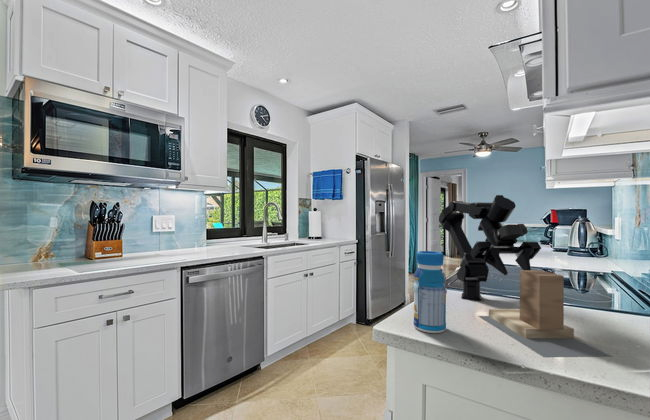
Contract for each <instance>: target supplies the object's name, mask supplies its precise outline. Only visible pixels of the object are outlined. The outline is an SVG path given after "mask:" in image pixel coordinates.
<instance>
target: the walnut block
mask: <svg viewBox="0 0 650 420" xmlns="http://www.w3.org/2000/svg"><path fill="white" fill-rule="evenodd" d="M564 280H565V277H564V275H562V274H557V273H553V272H550V271H545V270H542V269H541V270H539V269H538V270H535V269H534V270H533V269H531V270H523V269H521V270H519V309H520V320H521V321H523V322H525V323H527V324H529V325H531V326H533V327H535V328H537V329H539V330H564V325H565V324H564V322H565V321H564V319H565V318H564V315H565V312H564V311H565V310H564V308H565V306H564V302H565V301H564V300H565V299H564V298H565V297H564V295H565V293H564V290H565V289H564V286H565V282H564Z"/></svg>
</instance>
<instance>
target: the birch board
mask: <svg viewBox="0 0 650 420" xmlns="http://www.w3.org/2000/svg"><path fill="white" fill-rule="evenodd" d="M488 316H489V317H490V318H492V319H494V320H496V321H497V322H499V323H501V324H502V325H504V326H506V327H507V328H509V329H511V330H513V331H514V332H516V333H518V334H519V335H521V336H523V337H525V338H575V328H572V327H571V326H568V325H566V324H564V330H539V329H537V328H535V327H533V326H531V325H529V324H527V323H525V322H523V321H521V320H520V308H489V309H488Z"/></svg>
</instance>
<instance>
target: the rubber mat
mask: <svg viewBox="0 0 650 420" xmlns="http://www.w3.org/2000/svg"><path fill="white" fill-rule="evenodd" d="M477 317H479V318H480V319H482V320H483V321H485V322H487V324H489V325H491V326H493V327H494V328H496V329H498V330H499V331H501V332H502V333H504V334H506V335H507V336H509V337H510V338H511V339H514V340H515V341H517V342H518V343H520V344H522V345H523V346H524V347H527V348H528V349H529V350H531V351H533V352H534V353H536V354H538V355H539V356H542V357H543V358H578V357H579V358H585V357H586V358H592V357H593V358H594V357H595V358H598V357H599V358H600V357H601V358H602V357H605V358H606V357H613V355H610V354H609V353H606V352H605V351H602V350H600V349H598V348H596V347H594V346H592V345H589V344H587V343H585V342H583V341H582V340H579V339H577V338H575V337H574V338H525V337H523V336H521V335H519V334H518V333H516V332H514V331H513V330H511V329H509V328H507V327H506V326H504V325H502V324H501V323H499V322H497V321H496V320H494V319H492V318H490V317H489V315H478V316H477Z"/></svg>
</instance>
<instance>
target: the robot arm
mask: <svg viewBox="0 0 650 420" xmlns="http://www.w3.org/2000/svg"><path fill="white" fill-rule="evenodd" d="M515 208H516V203H515V202H514V201H513V200H511V199H510V198H508V197H505V196H504V195H502V194H497V195H495V197H494V199H493V201H492V202H476V201H475V202H465V201H463V200H453V201H451V202H450V203H449V204H448V206H446V207H445V208H443V209H442V210H441V212H440V214H439V215H438V223H440V225H441V227H442V228H443V229H444V230H445V231H447V232H449V234H450V236H451V239H452V241H453V243H454V245H455V248H456V250H457V252H458V254H459V256H460V258H461V261H460V264H459V269H458V271H457V272H456V279H457V280H459V281H460V282H462V293H461V299H466V300H475V301H482V300H483V298H482V294H481V282H482V283H484V282H485V283H486V282H487V280H488V276H489V269H490V268H489V266H488V265H490V266H491V267H493V268H494V269H495V270H497V271H498V272H500V273H501V274H502V275H504V276H507V275H508V270H507V268H506V266H505V263H504V261H503V260H502V258H501V256H500V255H515V256H516V258H515V260H514V261H515V262H516V264H518V265H519V267H520V268H521V270H532V269H531V260H533V259H534V258H535V257H536V255H537V254H538V253H539V251H541V250H542V247H541V245H540V243H539V242H538V241H523V242H522V243H521V244H520V245H519V246H515V245H514V244H517V243H518V238H520V237H523V236H525V235H527V234H528V227H527V226H526V225H525V224H524V223H517V224H505V225H503V224H502V223H505V222H506V221H507V220H508V219H509V218H510V216H511V215H512V213H513V212H514V210H515ZM465 214H467V215H468V216H469V217H470V218H471V219H473V220H480V222H479V225H478V228H477V231H480V232H481V231H482V232H483V234H484V235H485V237H486V239H485V241H483V240H482V241H480V240H479V241H478V240H477V241H476V242H475V244H474V245H473V247H472V246H471V244H470V242H469V239H468V238H467V236H466V233H465V232H464V230H463V227H462V224H463V221H464V218H465ZM487 264H488V265H487Z"/></svg>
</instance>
